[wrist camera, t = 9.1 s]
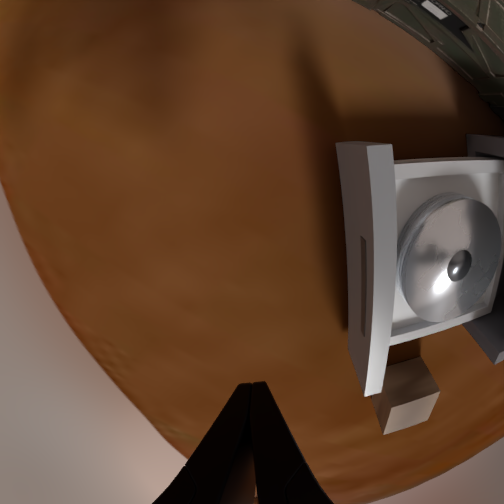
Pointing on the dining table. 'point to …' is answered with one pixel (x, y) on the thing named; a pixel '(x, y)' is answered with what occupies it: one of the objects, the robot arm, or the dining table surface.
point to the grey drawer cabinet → (500, 319)
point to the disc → (447, 256)
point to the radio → (457, 37)
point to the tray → (386, 236)
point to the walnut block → (405, 395)
